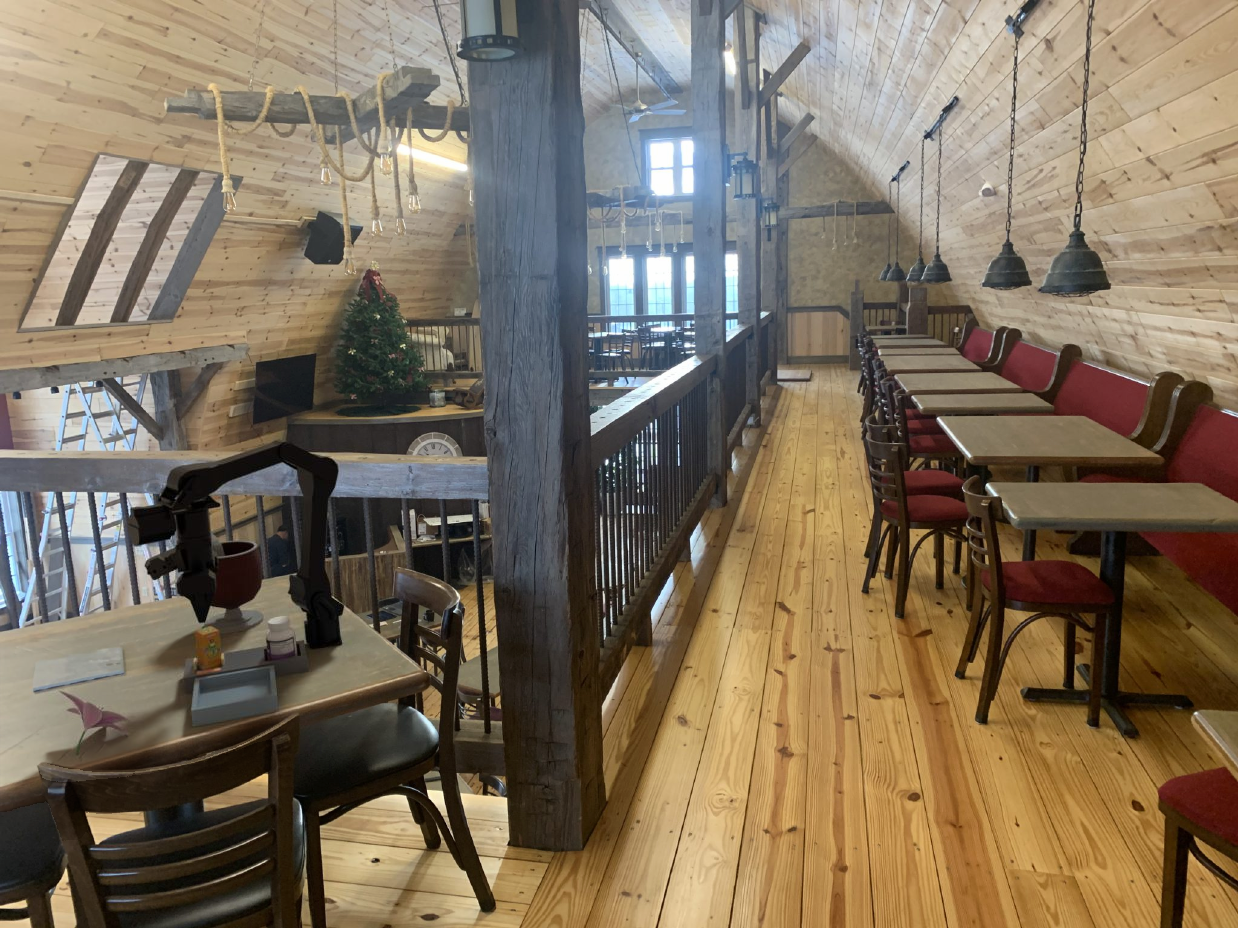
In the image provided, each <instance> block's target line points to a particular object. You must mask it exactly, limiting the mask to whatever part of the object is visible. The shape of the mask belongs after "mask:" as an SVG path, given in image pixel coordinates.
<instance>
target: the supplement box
mask: <svg viewBox="0 0 1238 928" xmlns="http://www.w3.org/2000/svg"><path fill="white" fill-rule="evenodd" d="M193 633H194V640H195V648H196V649H195V650H196V658H197V660H198V669H199V671H200V670H206V669H212V668H218V667H222V661H221V654H222V651H221V642H220V638H221V637H220V633H219V631H218V630H217V629H215V628H214V627H211V626H209V627H207V628H204V627H203V628H201V629H197V630H195V631H194V632H193Z"/></svg>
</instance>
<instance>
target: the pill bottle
mask: <svg viewBox="0 0 1238 928" xmlns="http://www.w3.org/2000/svg"><path fill="white" fill-rule="evenodd" d="M290 619H291V618H290V617H289V616H285V615H284V616H283V615H282V616H275V617H271V618H270V619H269V620H268V621H267V626H268V631H267V633H265V642H266V646H267V653H268V661H272V660H278V659H284V658H290V657H296V656H297V647H296V641H297V637H296V631H295V629H294V628H293V627H291V620H290Z"/></svg>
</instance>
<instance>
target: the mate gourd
mask: <svg viewBox="0 0 1238 928" xmlns="http://www.w3.org/2000/svg"><path fill="white" fill-rule="evenodd" d="M211 535H212V538H213V541H212V545H213V550H214V551H215V552H217V555H218V570H217V574H216V591H215V594H214V597H213V600H212V603H211V606H210V607H213V608H218V609H225V612H221V613H219V614H216V615H214V616H212V617H211V616H210V617H209V618H208V619H206V622H205V623H203V629H204V628H207V627H209V626H211V627H214V628H215V629H217V630H218V631H219V634H229V633H230V634H233V633H237V632H243V631H246V630H249V629H251V628H255V627H256V626H259V625H260V624H261V623H262V622H263V621H264V619H265V618H264V613H263V612H261V611H258V610H254V609H241V608H240V607H242V606H243V605H245V604H247V603H249V602H251V601H253V600H254V599H255V597H256V596H257V595H258V593H259V591H260V590H261V588H262V582H263V564H262V558H261V555H260V551H259V548H258V544H257V543H256V542H253V541H250V540H249V541H248V540H227V541H220V539H218V537H217V536H216V535H214V534H213V533H212V532H211Z"/></svg>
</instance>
